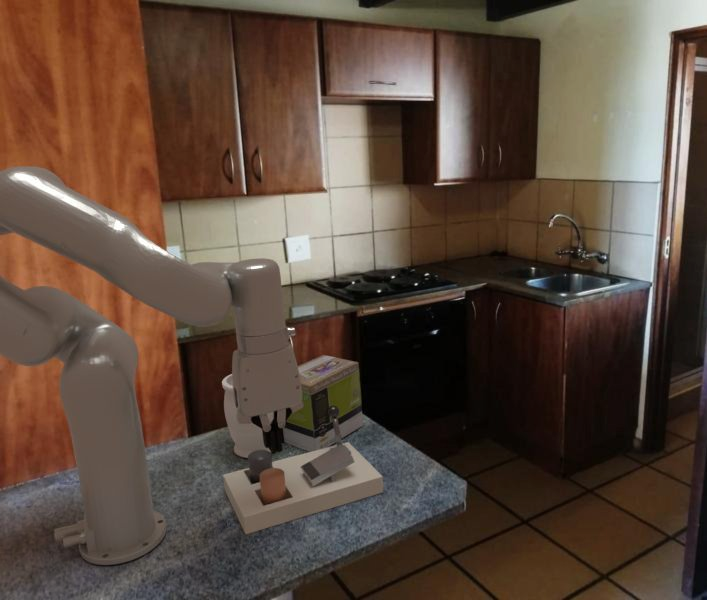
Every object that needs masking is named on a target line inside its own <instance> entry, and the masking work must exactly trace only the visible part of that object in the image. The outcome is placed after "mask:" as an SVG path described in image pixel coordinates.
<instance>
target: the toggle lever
mask: <svg viewBox="0 0 707 600" xmlns="http://www.w3.org/2000/svg"><path fill="white" fill-rule="evenodd" d="M339 412H340V411H339V408H338V407H337V406H330V407H329V408H328V415H329V416H330V417H332V421H333V426H334V432H335V437H336V442H335V443H336V445H337V446H338V445H340V444H341V445H342V444H343V441H342V439H341V434H340V429H339V423H338V418H337V416H338V415H339ZM342 446H343V445H342Z"/></svg>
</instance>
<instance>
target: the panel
mask: <svg viewBox="0 0 707 600" xmlns="http://www.w3.org/2000/svg"><path fill="white" fill-rule="evenodd" d="M342 445H343V447H344V448H345V449H346V450H347V451H348V452H349V454H350V455H351V456H352V457H353V459H354V463H352V464H351V465H349V466H347V467H345V468H344V469H342V470H340V471H339V472H337V473H335V474H333V475H332V476H330V477H328V478H327V479H325V480H323V481H321V482H320V483H318V484H316V485H315V486H312V484H311V483H310V482H309V480H308V479H307V478H306V476H305V475H304V474H303V472H302V470H301V466H302V465H304V464H306V463H308V462H310V461H311V460H313V459H315V458H317V457H318V456H320V455H322V454H324V453H326V452H327V451H329V450H331V449H333V448H334V447H336V446H337V444H335V445H330V446H328V447H327V448H324V449H320V450H316V451H312V452H308V451H307V452H306V453H301V454H297V455H294V456H289V457H285V458H282V459H278V460H275V461H272V467H273V468H279V469H282V470H283V471H284V474H285V487H286V499H285V500H282V501H279V502H275V503H272V504H268V505H264V504H263V503H262V499H261V487H260V482H259V483H255V484H252V483H251V482H250V473H249V467H248V468H244V469H239V470H236V471H231V472H227V473H224V474H222V476H223V486H224V487H223V488H224V491H225V494H226V497H227V498H228V500H229V502H230V504H231V506H232V509H233V511H234V513H235V515H236V517H237V519H238V521H239V523H240V525H241V528H242V530H243V532H244V534H245V535H248V534H251V533H255V532H258V531H261V530H265V529H268V528H271V527H274V526H278V525H282V524H285V523H288V522H291V521H294V520H297V519H301V518H304V517H308V516H310V515H314V514H317V513H321V512H323V511H327V510H330V509H334V508H337V507H341V506H343V505H346V504H350V503H354V502H357V501H359V500H363V499H366V498H369V497H373V496H375V495H378V494H382V493H384V479H383V478H384V477H383V475H382V474H381V473H380V472H379V471H378V470H377V469H376V468H375V467H374V466H373V465H372V464H371V463H370V462H369V461H368V460H367V459H366V458H365V457H364V456H363V454H361V453H360V452H359V451H358V450H357V449H356V448H355V447H354V446H353V445H352V444H351V443H350V442H349V441H347V442H344V443H343V442H342Z"/></svg>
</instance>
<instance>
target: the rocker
mask: <svg viewBox="0 0 707 600" xmlns="http://www.w3.org/2000/svg"><path fill="white" fill-rule="evenodd" d="M352 463H354V459H353V457H352V456H351V455H350V454H349V452H348V451H347V450H346V449H345V448H344V447H343V446H342V445H341V444H340V445H338V446H336V447H334V448H333V449H331V450H329V451H327V452H326V453H324V454H322V455H320V456H318V457H317V458H315V459H313V460H311V461H310V462H308V463H306V464H304V465H302V466H301V470H302V472H303V474H304V475H305V476H306V478H307V479H308V480H309V482H310V483H311V484H312V486H315V485H316V484H318V483H320V482H321V481H323V480H325V479H327V478H328V477H330V476H332V475H333V474H335V473H337V472H339V471H340V470H342V469H344V468H345V467H347V466H349V465H351V464H352Z"/></svg>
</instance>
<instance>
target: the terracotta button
mask: <svg viewBox="0 0 707 600" xmlns="http://www.w3.org/2000/svg"><path fill="white" fill-rule="evenodd" d="M260 487H261V499H262V503H263V506H265V505H268V504H272V503H275V502H279V501H282V500H285V499H286V487H285V474H284V471H283V470H282V469H279V468H270V469H266V470H264V471H263V472H261V473H260Z"/></svg>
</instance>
